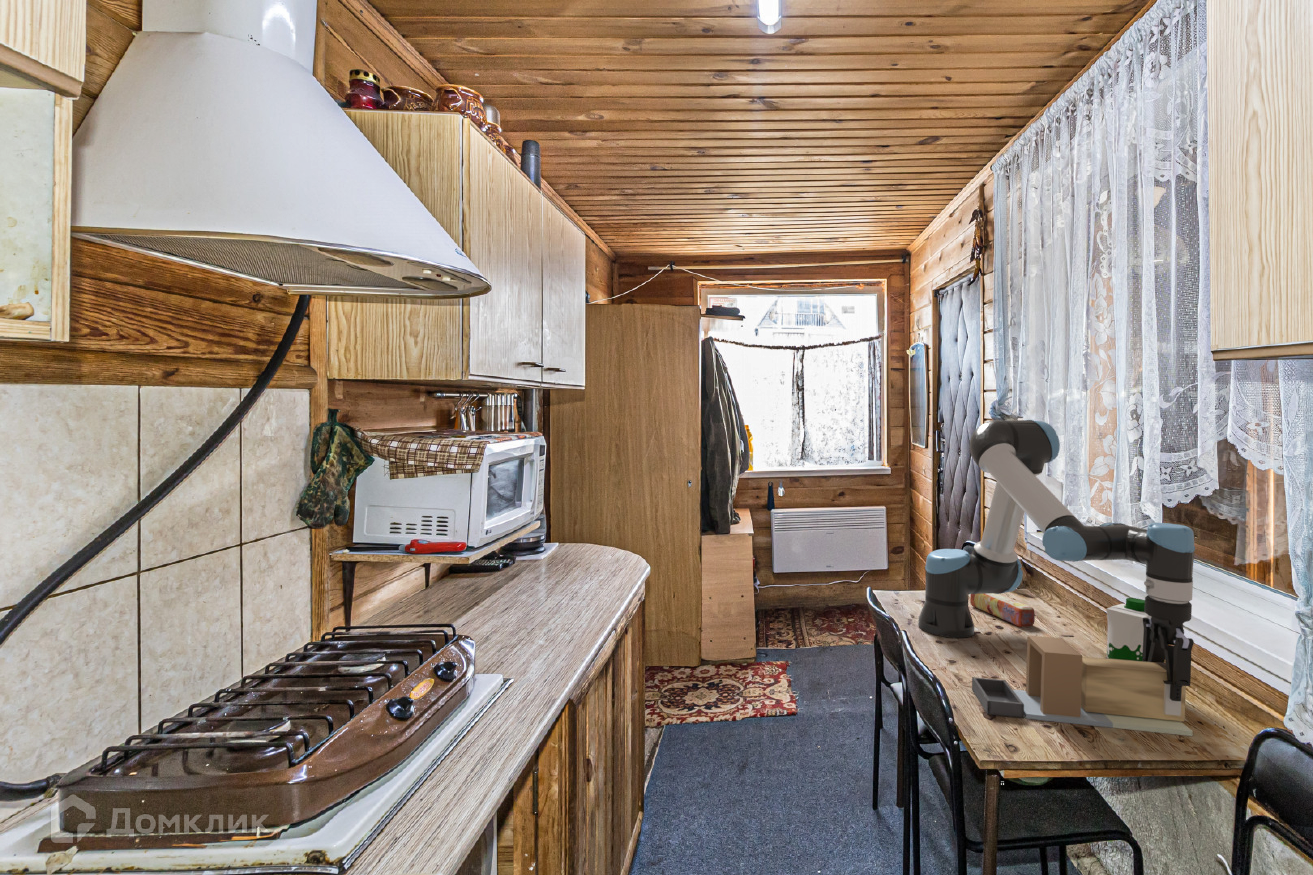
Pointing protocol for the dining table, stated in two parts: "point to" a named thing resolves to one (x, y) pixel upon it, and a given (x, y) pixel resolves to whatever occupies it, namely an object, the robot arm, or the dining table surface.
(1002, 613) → the snack package
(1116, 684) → the block
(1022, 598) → the dining table surface
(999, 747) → the dining table surface
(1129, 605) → the milk carton
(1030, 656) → the board
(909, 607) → the dining table surface
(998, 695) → the tray
